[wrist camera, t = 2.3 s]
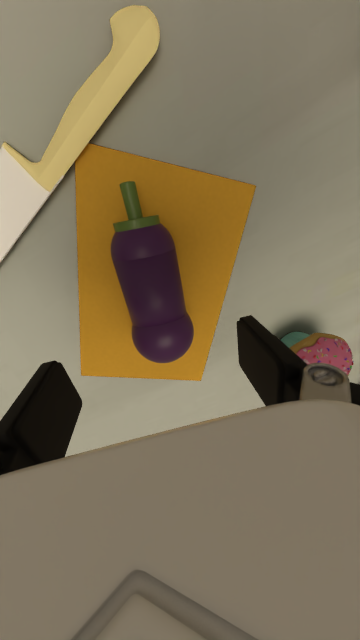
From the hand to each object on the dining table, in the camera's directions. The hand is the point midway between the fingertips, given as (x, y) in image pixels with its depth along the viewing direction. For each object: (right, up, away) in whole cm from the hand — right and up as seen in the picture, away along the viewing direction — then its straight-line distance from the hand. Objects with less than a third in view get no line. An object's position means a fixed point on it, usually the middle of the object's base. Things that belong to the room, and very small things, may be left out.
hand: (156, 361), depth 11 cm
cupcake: (+17, -1, +18) cm, 25 cm away
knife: (-13, +13, +7) cm, 19 cm away
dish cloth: (-2, +5, +12) cm, 13 cm away
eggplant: (-2, +7, +11) cm, 13 cm away
